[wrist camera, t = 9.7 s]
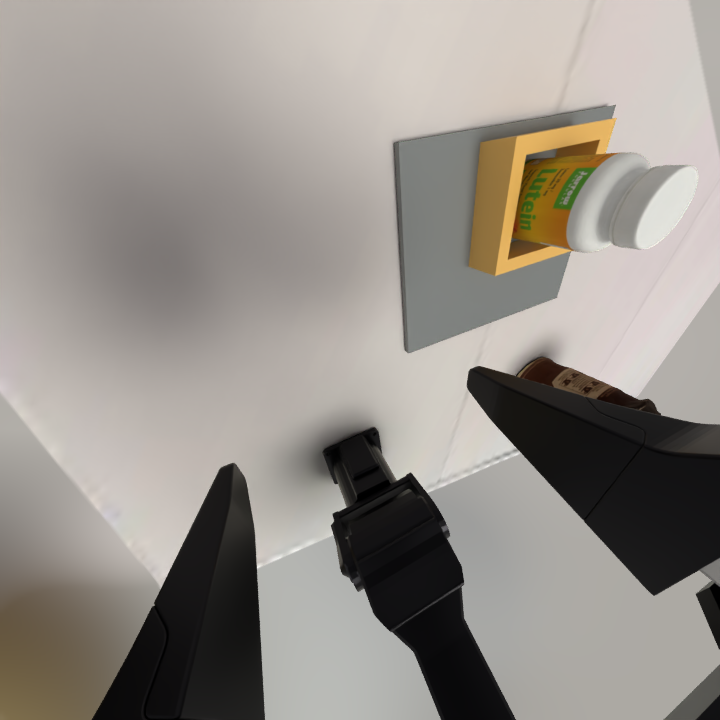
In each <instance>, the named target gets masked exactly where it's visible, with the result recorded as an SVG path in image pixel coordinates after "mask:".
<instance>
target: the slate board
mask: <svg viewBox="0 0 720 720" xmlns="http://www.w3.org/2000/svg"><path fill="white" fill-rule="evenodd" d="M615 106H616V105H613V106H607V107H601V108H595V109H589V110H584V111H578V112H572V113H566V114H560V115H554V116H549V117H543V118H537V119H531V120H525V121H519V122H514V123H508V124H502V125H496V126H490V127H485V128H479V129H473V130H467V131H461V132H455V133H450V134H444V135H438V136H432V137H426V138H420V139H415V140H409V141H403V142H398V143H394V150H395V168H396V187H397V205H398V224H399V242H400V261H401V280H402V298H403V317H404V335H405V351H406V352H407V353H411V352H414V351H416V350H419V349H422V348H424V347H427V346H430V345H432V344H435V343H438V342H440V341H443V340H446V339H448V338H451V337H454V336H456V335H459V334H462V333H464V332H467V331H469V330H472V329H475V328H477V327H480V326H483V325H485V324H488V323H491V322H493V321H496V320H499V319H501V318H504V317H507V316H509V315H512V314H515V313H517V312H520V311H523V310H525V309H528V308H531V307H533V306H536V305H539V304H541V303H544V302H547V301H549V300H552V299H554V298H557V295H558V292H559V288H560V285H561V282H562V279H563V275H564V272H565V269H566V266H567V262H568V259H569V256H570V253H571V251H570V252H567V253H564V254H561V255H558V256H555V257H552V258H548V259H545V260H542V261H539V262H536V263H533V264H530V265H527V266H524V267H521V268H518V269H515V270H512V271H509V272H506V273H503V274H500V275H497V276H493V275H491V274H488V273H485V272H482V271H479V270H476V269H474V268H471V267H469V258H470V247H471V237H472V226H473V216H474V205H475V194H476V184H477V173H478V163H479V152H480V142H485V141H490V140H495V139H501V138H506V137H512V136H517V135H522V134H528V133H533V132H538V131H544V130H549V129H554V128H560V127H565V126H571V125H576V124H583V123H589V122H595V121H601V120H607V119H612V116H613V113H614V110H615ZM556 153H557V148H556V149H551V150H547V151H542V152H537V153H532V154H527V155H526V158H525V161H526V160H530V159H539V158H555V157H556ZM518 240H519V239H514V238H511V242H515V241H518Z"/></svg>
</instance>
